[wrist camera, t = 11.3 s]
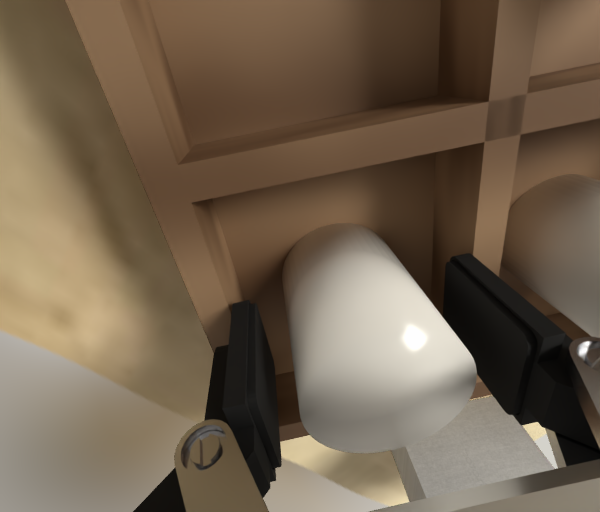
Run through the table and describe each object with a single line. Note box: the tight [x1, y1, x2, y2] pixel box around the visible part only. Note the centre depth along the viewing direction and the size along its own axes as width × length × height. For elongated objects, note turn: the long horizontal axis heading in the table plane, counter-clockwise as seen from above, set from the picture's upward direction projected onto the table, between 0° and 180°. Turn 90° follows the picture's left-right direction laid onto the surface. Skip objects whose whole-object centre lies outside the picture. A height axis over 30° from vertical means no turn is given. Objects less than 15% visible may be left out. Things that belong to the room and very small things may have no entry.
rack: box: [65, 0, 600, 441], centre depth 10 cm, size 23×19×4 cm
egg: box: [282, 223, 477, 453], centre depth 11 cm, size 5×5×6 cm
